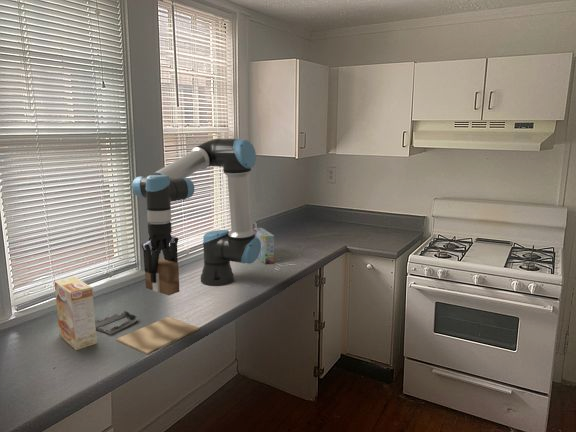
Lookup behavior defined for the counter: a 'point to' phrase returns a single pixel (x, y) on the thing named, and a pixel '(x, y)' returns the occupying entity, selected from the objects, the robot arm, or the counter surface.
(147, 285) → the walnut slab
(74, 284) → the coffeecake box
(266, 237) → the snack box
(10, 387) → the counter surface
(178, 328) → the light wood board
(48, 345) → the counter surface
